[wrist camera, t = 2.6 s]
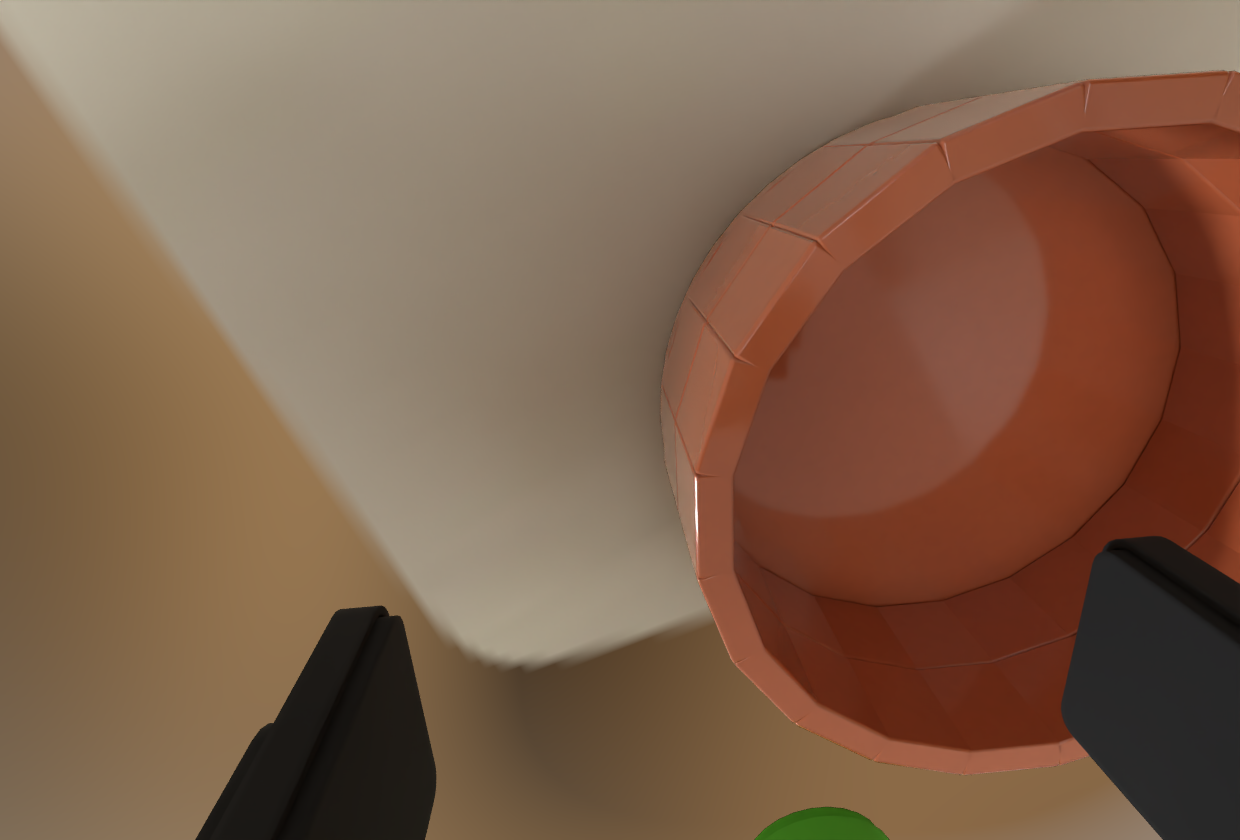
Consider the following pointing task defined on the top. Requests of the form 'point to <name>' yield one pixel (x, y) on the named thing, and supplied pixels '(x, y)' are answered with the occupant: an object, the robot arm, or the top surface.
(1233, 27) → the top surface
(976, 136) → the bowl
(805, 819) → the cup
